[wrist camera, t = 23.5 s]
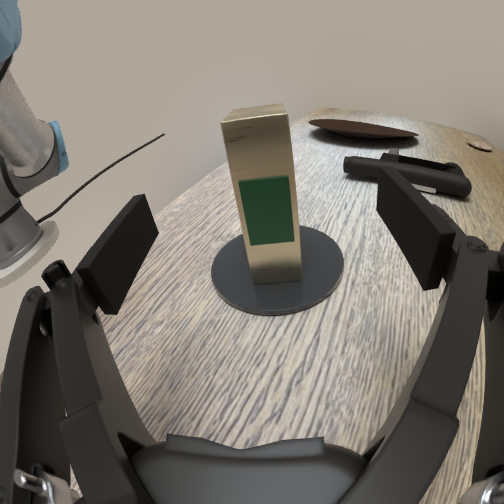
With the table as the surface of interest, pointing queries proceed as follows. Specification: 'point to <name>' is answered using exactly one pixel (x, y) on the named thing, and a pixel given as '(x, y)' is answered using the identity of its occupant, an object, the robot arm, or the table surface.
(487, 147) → the flatbread
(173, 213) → the table surface
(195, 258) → the table surface
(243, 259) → the coaster
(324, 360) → the table surface
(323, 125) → the plate
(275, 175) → the tea tin
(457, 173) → the door handle
